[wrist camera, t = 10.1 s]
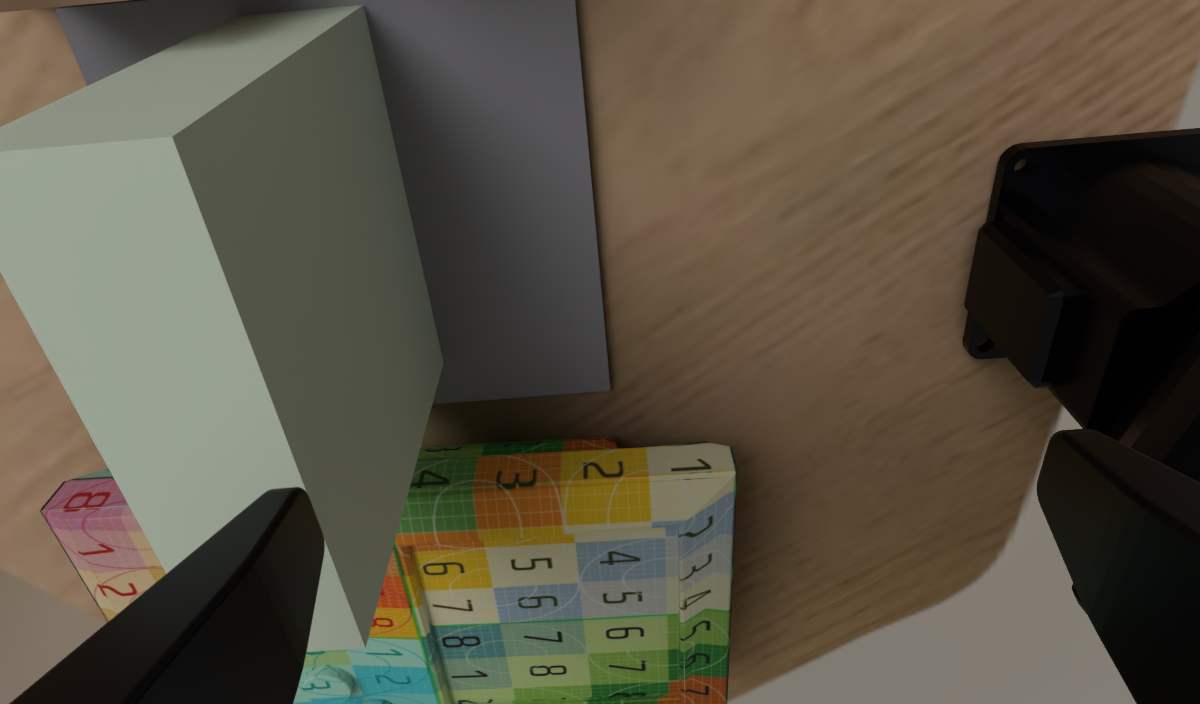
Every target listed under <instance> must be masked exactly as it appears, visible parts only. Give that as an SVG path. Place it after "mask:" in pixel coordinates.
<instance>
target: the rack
mask: <svg viewBox="0 0 1200 704" xmlns="http://www.w3.org/2000/svg"><path fill="white" fill-rule="evenodd" d="M117 1H127V0H0V12H9V11H20V10H31V9H41V8H52V7H63V6H74V5H84V4H95V3H106V2H117Z"/></svg>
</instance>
